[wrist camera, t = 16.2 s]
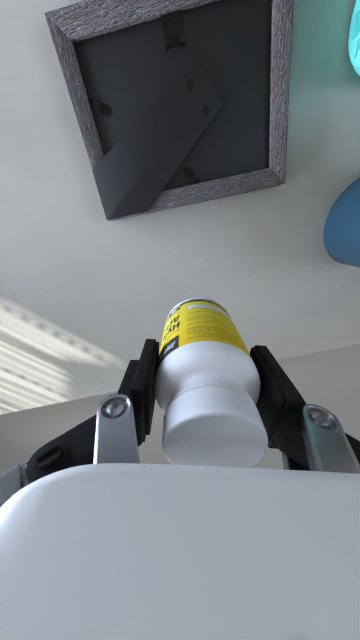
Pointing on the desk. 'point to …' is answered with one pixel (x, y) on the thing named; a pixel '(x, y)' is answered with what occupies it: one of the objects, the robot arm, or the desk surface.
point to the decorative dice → (355, 38)
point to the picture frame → (178, 96)
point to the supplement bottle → (208, 390)
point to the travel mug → (344, 227)
